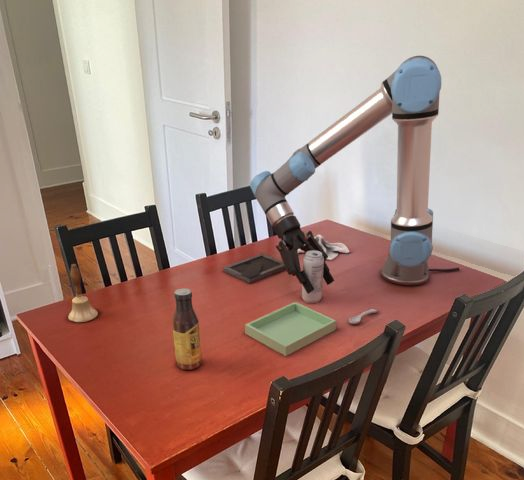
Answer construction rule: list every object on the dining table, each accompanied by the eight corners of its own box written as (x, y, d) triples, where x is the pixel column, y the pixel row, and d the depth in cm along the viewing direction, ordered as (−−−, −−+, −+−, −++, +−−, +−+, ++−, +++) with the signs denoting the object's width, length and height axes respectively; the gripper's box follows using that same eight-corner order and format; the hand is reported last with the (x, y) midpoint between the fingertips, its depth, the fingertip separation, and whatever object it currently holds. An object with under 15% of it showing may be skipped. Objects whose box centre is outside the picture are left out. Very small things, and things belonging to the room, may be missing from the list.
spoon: (345, 323, 149) (346, 317, 148) (370, 312, 156) (371, 305, 155) (354, 327, 147) (355, 320, 146) (378, 315, 155) (379, 309, 154)
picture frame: (249, 283, 172) (288, 268, 182) (249, 277, 171) (288, 262, 181) (223, 271, 180) (262, 257, 190) (223, 266, 179) (262, 252, 189)
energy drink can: (313, 293, 165) (315, 248, 157) (325, 301, 161) (328, 254, 153) (297, 298, 163) (299, 252, 155) (309, 306, 158) (311, 259, 150)
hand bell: (89, 306, 159) (78, 256, 150) (103, 315, 154) (93, 264, 145) (63, 315, 154) (51, 264, 146) (77, 325, 149) (65, 273, 141)
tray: (295, 310, 156) (295, 301, 155) (335, 329, 146) (336, 320, 145) (245, 333, 145) (245, 324, 143) (285, 356, 135) (285, 346, 134)
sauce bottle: (197, 372, 129) (191, 299, 118) (173, 369, 130) (164, 297, 120) (205, 358, 135) (199, 287, 124) (181, 355, 136) (174, 285, 125)
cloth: (356, 249, 196) (358, 233, 193) (327, 264, 184) (328, 248, 181) (308, 235, 209) (309, 220, 205) (278, 249, 197) (278, 233, 194)
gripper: (301, 220, 167) (336, 282, 166) (252, 236, 155) (289, 303, 154) (314, 207, 161) (351, 271, 160) (264, 222, 149) (303, 292, 148)
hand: (321, 287), depth 157 cm, fingers open, 8 cm apart
